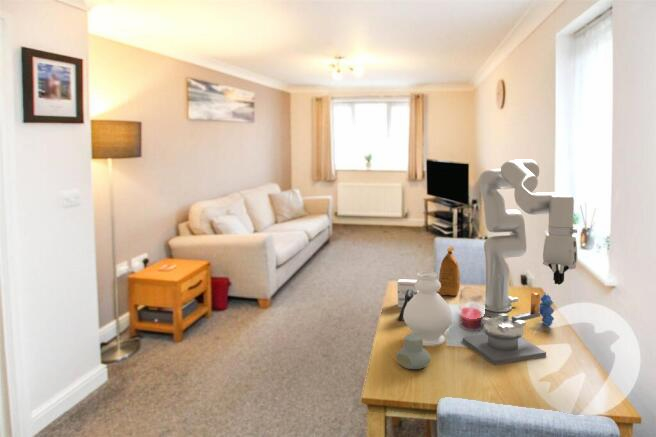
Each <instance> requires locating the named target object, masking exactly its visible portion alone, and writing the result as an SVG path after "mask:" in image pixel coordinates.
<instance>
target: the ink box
mask: <svg viewBox="0 0 656 437" xmlns="http://www.w3.org/2000/svg"><path fill="white" fill-rule="evenodd" d="M417 280H418V279H404V278H402V279H401V278H399V279H398V280H397V307H398V308H402V307H403V304H404V302H405V294H406V291H407V290H408V289H409V291H408V295H410V291H411V289H412V290H413V292H414V294H413V296H415V295H416V294H417V293H418V292H419V291H418V290H417V289H416V288H415V282H416V281H417ZM407 304H408V302H407Z"/></svg>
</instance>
